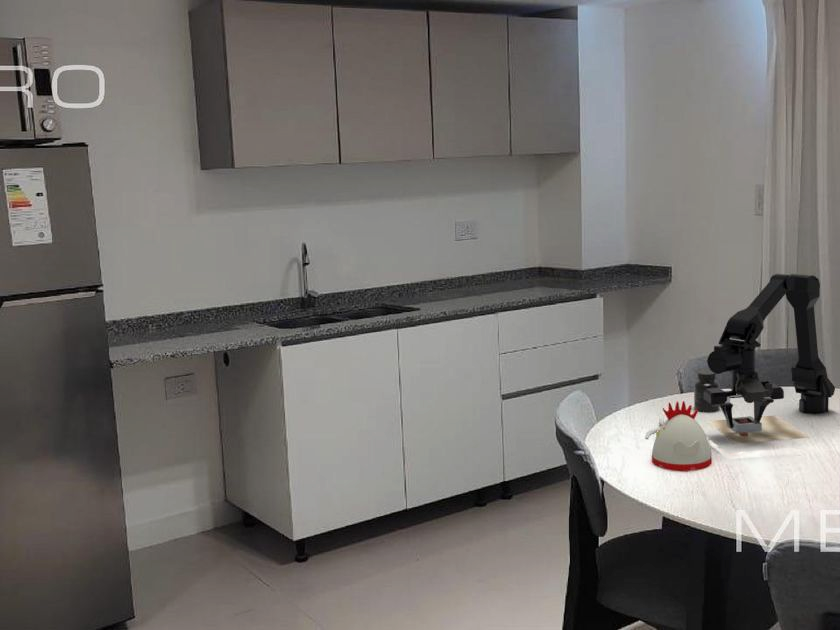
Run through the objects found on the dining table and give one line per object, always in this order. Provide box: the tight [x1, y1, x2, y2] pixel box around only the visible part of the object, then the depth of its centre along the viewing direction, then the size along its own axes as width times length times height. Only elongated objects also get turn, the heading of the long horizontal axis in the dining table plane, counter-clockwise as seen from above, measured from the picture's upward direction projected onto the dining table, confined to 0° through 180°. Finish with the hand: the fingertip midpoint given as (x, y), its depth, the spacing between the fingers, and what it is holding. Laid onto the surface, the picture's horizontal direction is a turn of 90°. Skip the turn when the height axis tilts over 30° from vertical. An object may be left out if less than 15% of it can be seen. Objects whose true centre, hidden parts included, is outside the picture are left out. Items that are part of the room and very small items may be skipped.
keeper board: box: [705, 415, 810, 444], centre depth 246 cm, size 19×20×6 cm
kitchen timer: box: [651, 400, 712, 472], centre depth 229 cm, size 14×14×15 cm
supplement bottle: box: [693, 370, 721, 414], centre depth 266 cm, size 7×7×12 cm
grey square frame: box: [725, 415, 762, 433], centre depth 241 cm, size 6×6×2 cm
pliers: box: [645, 418, 665, 440], centre depth 254 cm, size 10×2×15 cm
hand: (743, 426), depth 241 cm, fingers closed on grey square frame, 6 cm apart
